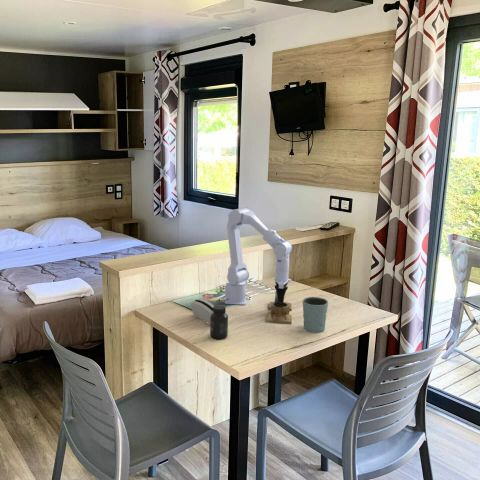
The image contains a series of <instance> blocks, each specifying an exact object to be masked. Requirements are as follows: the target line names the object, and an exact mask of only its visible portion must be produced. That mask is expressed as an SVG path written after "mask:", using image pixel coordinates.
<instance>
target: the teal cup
mask: <svg viewBox="0 0 480 480" xmlns="http://www.w3.org/2000/svg"><path fill="white" fill-rule="evenodd" d="M328 307H329V301H328V300H327V299H326V298H323V297H319V296H307V297H305V298H303V299H302V311H303V313H302V314H303V315H302V316H303V329H304V330H305V331H306V332H309V333H312V334H313V333H314V334H320V333H323V332H324V331H325V330H326V321H327V312H328Z"/></svg>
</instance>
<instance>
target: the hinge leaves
mask: <svg viewBox="0 0 480 480" xmlns="http://www.w3.org/2000/svg"><path fill="white" fill-rule="evenodd" d="M268 306H269V307H268V310H270V312H269V313H268V314H267V323H273V324H277V323H278V324H292V319H293V318H292V314H290V312H291V311H292V309H293V308H292V302H286V301H284V303H283V305H276V304H275V303H274V301H269V305H268Z"/></svg>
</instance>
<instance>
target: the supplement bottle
mask: <svg viewBox="0 0 480 480" xmlns="http://www.w3.org/2000/svg"><path fill="white" fill-rule="evenodd" d="M226 309H227V308H226V306H225V305H222V304H221V305H220V304H218V305H217V304H216V305H214V307H213V313H212V314H211V316H210V324H209V329H210V330H209V336H210V338H211V339H212V338H213V339H212V340H215V339H216V341H219V340H220V341H222V339H223V340H226V339H227V338H228V336H229V335H228V334H229V315H228V314H227V313H226Z"/></svg>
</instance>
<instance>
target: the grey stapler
mask: <svg viewBox="0 0 480 480" xmlns="http://www.w3.org/2000/svg"><path fill="white" fill-rule="evenodd" d="M190 306H191V310H192V314H193V316H195V317H196V318H197V319H200V320H201V321H204V322H205V321H206V322H205V323H207V322H208V323H207V324H209V325H210V316H211V314H212V313H213V307H214V306H215V305H214V304H213V303H211V302H209V300H207V299H204V298H196V299H195V300H193V301H192V302H190Z"/></svg>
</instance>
